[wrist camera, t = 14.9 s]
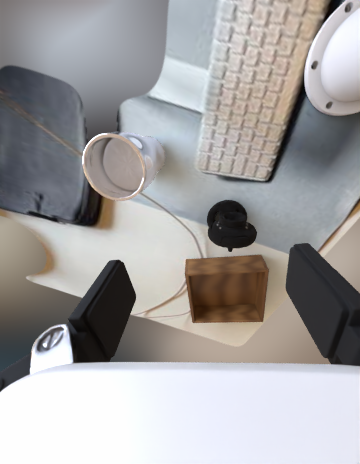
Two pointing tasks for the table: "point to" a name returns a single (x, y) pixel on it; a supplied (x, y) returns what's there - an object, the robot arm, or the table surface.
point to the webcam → (230, 226)
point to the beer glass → (122, 163)
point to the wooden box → (227, 288)
